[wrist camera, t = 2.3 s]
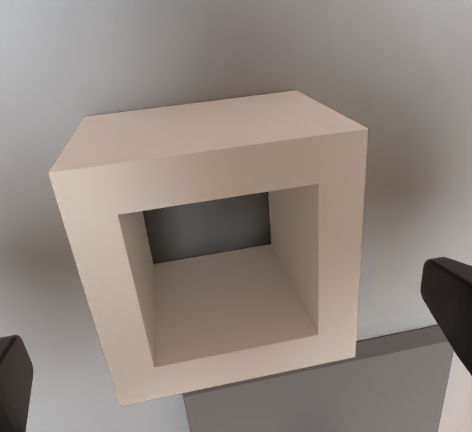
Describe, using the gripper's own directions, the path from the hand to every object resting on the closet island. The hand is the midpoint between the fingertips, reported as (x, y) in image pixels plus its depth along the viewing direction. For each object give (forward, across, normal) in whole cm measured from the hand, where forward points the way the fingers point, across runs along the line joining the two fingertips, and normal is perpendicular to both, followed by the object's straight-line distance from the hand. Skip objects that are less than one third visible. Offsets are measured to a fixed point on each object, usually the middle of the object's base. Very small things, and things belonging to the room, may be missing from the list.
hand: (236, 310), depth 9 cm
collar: (+6, 0, 0) cm, 6 cm away
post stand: (+6, -4, +14) cm, 16 cm away
